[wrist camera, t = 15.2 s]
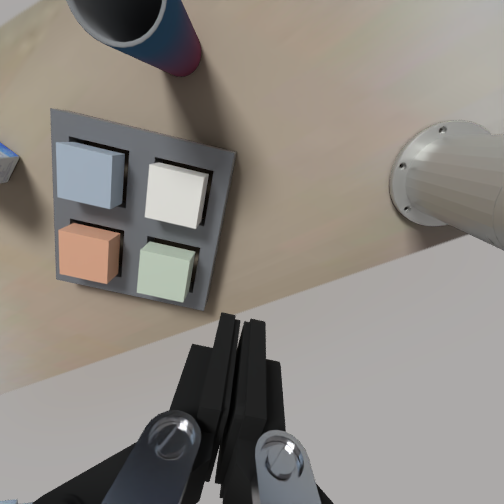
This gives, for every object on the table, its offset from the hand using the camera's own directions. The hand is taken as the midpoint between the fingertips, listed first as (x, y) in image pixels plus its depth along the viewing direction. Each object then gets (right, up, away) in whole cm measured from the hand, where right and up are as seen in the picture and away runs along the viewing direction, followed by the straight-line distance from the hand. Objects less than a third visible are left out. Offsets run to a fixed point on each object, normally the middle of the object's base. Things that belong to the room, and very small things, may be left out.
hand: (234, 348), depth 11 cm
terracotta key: (-20, +4, +27) cm, 34 cm away
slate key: (-18, +13, +24) cm, 32 cm away
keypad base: (-14, +9, +29) cm, 33 cm away
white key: (-8, +11, +24) cm, 28 cm away
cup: (-8, +26, +21) cm, 35 cm away
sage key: (-10, +2, +27) cm, 29 cm away
